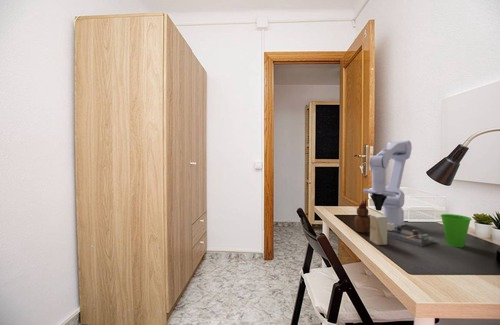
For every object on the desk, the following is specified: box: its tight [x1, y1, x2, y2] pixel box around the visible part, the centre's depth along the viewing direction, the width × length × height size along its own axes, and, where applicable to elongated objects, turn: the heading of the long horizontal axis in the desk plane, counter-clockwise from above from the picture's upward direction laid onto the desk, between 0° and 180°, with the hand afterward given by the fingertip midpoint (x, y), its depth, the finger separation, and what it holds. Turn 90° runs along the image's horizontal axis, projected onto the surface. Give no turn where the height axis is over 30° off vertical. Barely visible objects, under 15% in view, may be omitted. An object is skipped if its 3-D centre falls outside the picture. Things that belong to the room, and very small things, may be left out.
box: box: [369, 213, 388, 246], centre depth 93 cm, size 5×4×11 cm
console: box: [387, 225, 436, 247], centre depth 99 cm, size 10×19×4 cm, turn 28°
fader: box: [387, 223, 396, 231], centre depth 104 cm, size 3×2×3 cm
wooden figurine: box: [353, 198, 370, 234], centre depth 107 cm, size 7×6×15 cm
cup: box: [439, 213, 472, 248], centre depth 90 cm, size 9×9×11 cm
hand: (378, 210), depth 108 cm, fingers closed
